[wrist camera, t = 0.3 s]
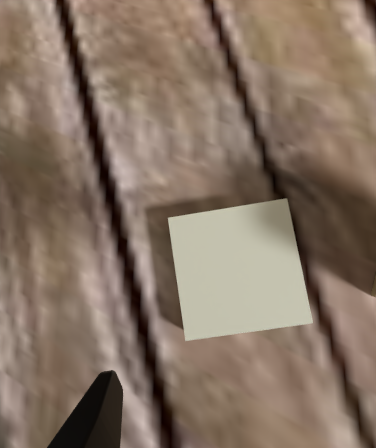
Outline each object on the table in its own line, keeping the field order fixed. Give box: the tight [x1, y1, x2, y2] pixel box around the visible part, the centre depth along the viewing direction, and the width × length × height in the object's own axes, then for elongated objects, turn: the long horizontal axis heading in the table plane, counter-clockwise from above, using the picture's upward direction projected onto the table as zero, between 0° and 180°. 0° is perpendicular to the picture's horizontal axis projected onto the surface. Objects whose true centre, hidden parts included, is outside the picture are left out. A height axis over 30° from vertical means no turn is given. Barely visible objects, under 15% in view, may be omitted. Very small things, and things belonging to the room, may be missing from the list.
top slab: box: [168, 198, 313, 341], centre depth 21 cm, size 9×9×2 cm
